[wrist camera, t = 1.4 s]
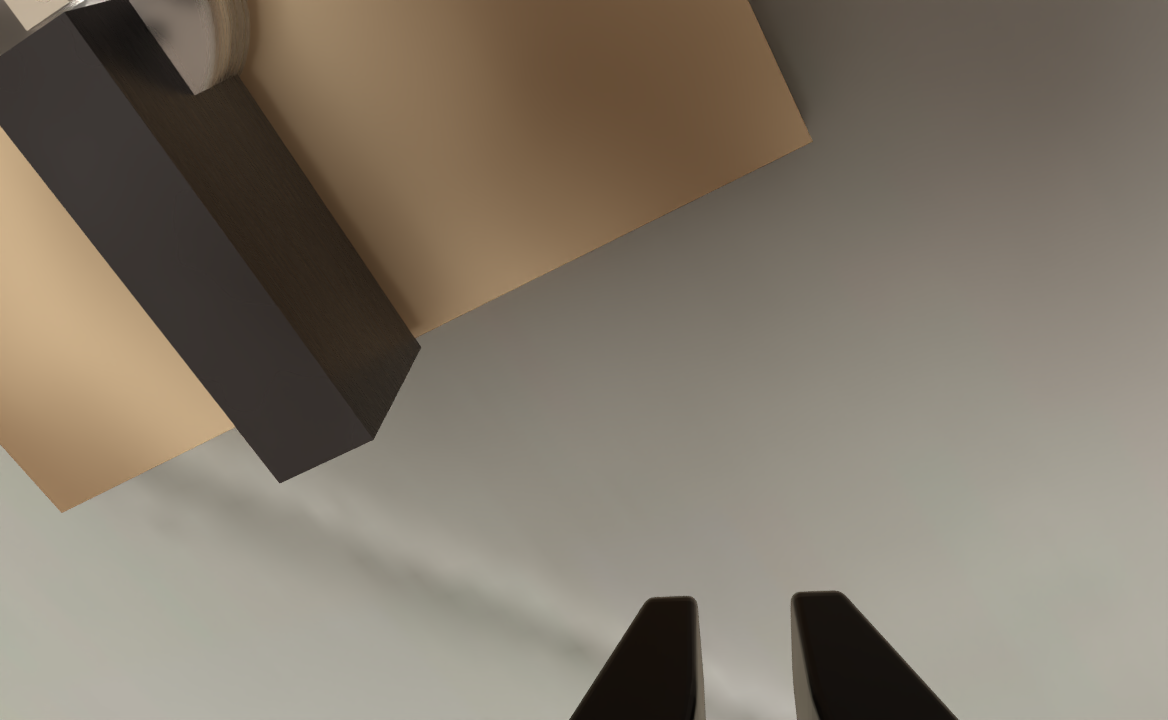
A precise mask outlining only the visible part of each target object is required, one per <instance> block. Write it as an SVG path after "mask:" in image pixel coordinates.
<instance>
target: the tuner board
mask: <svg viewBox="0 0 1168 720" xmlns="http://www.w3.org/2000/svg"><path fill="white" fill-rule="evenodd" d="M247 4H248V9H249V16H250V43H249V49H248V54H247V59H246V62H245V65H244V68H243V71H242V73H241V75H240V79H241V80H242V82H243V83H244V85H245V86H246V88H247V89H248V91H249V92H250V94H251V95H252V97H253V98H254V100H255V101H256V103H257V104H258V106H259V107H260V109H261V110H262V112H263V113H264V114H265V116H266V117H267V119H268V120H269V122H270V123H271V125H272V126H273V128H274V129H275V131H276V132H277V134H278V135H279V137H280V138H281V140H282V141H283V143H284V144H285V146H286V147H287V149H288V150H289V152H290V153H291V155H292V156H293V158H294V159H295V161H296V162H297V164H298V165H299V167H300V168H301V169H302V171H303V172H304V174H305V175H306V177H307V178H308V180H309V181H310V183H311V184H312V186H313V187H314V189H315V190H316V192H317V193H318V195H319V196H320V198H321V199H322V201H323V202H324V204H325V205H326V207H327V208H328V210H329V211H330V213H331V214H332V216H333V217H334V219H335V220H336V222H337V223H338V225H339V226H340V227H341V229H342V230H343V232H344V233H345V235H346V236H347V238H348V239H349V241H350V242H351V244H352V245H353V247H354V248H355V250H356V251H357V253H358V254H359V256H360V257H361V259H362V260H363V262H364V263H365V265H366V266H367V268H368V269H369V271H370V272H371V274H372V275H373V277H374V278H375V280H376V281H377V282H378V284H379V285H380V287H381V288H382V290H383V291H384V293H385V294H386V296H387V297H388V299H389V300H390V302H391V303H392V305H393V306H394V308H395V309H396V311H397V312H398V314H399V315H400V317H401V318H402V320H403V321H404V323H405V324H406V326H407V327H408V329H409V330H410V332H411V333H412V335H413V336H414V337H415V338H416V337H419V336H421V335H423V334H425V333H427V332H429V331H431V330H433V329H435V328H437V327H439V326H441V325H443V324H445V323H447V322H449V321H451V320H453V319H455V318H457V317H459V316H461V315H463V314H465V313H467V312H469V311H471V310H473V309H475V308H477V307H479V306H481V305H483V304H485V303H487V302H489V301H491V300H493V299H495V298H497V297H499V296H501V295H503V294H505V293H508V292H510V291H512V290H514V289H516V288H518V287H520V286H522V285H524V284H526V283H528V282H530V281H532V280H534V279H536V278H538V277H540V276H542V275H544V274H546V273H548V272H550V271H552V270H554V269H556V268H558V267H560V266H562V265H564V264H566V263H568V262H570V261H572V260H574V259H576V258H578V257H580V256H582V255H584V254H586V253H588V252H590V251H592V250H594V249H596V248H599V247H601V246H603V245H605V244H607V243H609V242H611V241H613V240H615V239H617V238H619V237H621V236H623V235H625V234H627V233H629V232H631V231H633V230H635V229H637V228H639V227H641V226H643V225H645V224H647V223H649V222H651V221H653V220H655V219H657V218H659V217H661V216H663V215H665V214H667V213H669V212H671V211H673V210H675V209H677V208H679V207H681V206H683V205H685V204H688V203H690V202H692V201H694V200H696V199H698V198H700V197H702V196H704V195H706V194H708V193H710V192H712V191H714V190H716V189H718V188H720V187H722V186H724V185H726V184H728V183H730V182H732V181H734V180H736V179H738V178H740V177H742V176H744V175H746V174H748V173H750V172H752V171H754V170H756V169H758V168H760V167H762V166H764V165H766V164H768V163H770V162H772V161H774V160H776V159H779V158H781V157H783V156H785V155H787V154H789V153H791V152H793V151H795V150H797V149H799V148H801V147H803V146H805V145H807V144H809V143H811V142H813V141H812V139H811V136H810V134H809V132H808V130H807V128H806V126H805V123H804V121H803V119H802V117H801V115H800V112H799V110H798V108H797V106H796V104H795V102H794V99H793V97H792V95H791V93H790V91H789V88H788V86H787V84H786V82H785V80H784V78H783V75H782V73H781V71H780V69H779V67H778V65H777V62H776V60H775V58H774V56H773V54H772V51H771V49H770V47H769V45H768V43H767V41H766V38H765V36H764V34H763V32H762V30H761V27H760V25H759V23H758V21H757V19H756V17H755V14H754V12H753V10H752V8H751V6H750V3H749V1H748V0H247ZM234 427H235V426H234V424H233V423H232V422H231V420H230V419H229V418H228V417H227V415H226V414H225V413H224V412H223V410H222V409H221V408H220V406H219V405H218V404H217V403H216V401H215V400H214V399H213V397H212V396H211V395H210V394H209V392H208V391H207V390H206V389H205V387H204V386H203V385H202V383H201V382H200V381H199V380H198V378H197V377H196V376H195V374H194V373H193V372H192V371H191V369H190V368H189V367H188V365H187V364H186V363H185V362H184V360H183V359H182V358H181V357H180V355H179V354H178V353H177V351H176V350H175V349H174V348H173V346H172V345H171V344H170V342H169V341H168V340H167V339H166V337H165V336H164V335H163V334H162V332H161V331H160V330H159V328H158V327H157V326H156V325H155V323H154V322H153V321H152V319H151V318H150V317H149V316H148V314H147V313H146V312H145V311H144V309H143V308H142V307H141V305H140V304H139V303H138V302H137V300H136V299H135V298H134V296H133V295H132V294H131V293H130V291H129V290H128V289H127V287H126V286H125V285H124V284H123V282H122V281H121V280H120V279H119V277H118V276H117V275H116V273H115V272H114V271H113V270H112V268H111V267H110V266H109V264H108V263H107V262H106V261H105V259H104V258H103V257H102V256H101V254H100V253H99V252H98V250H97V249H96V248H95V247H94V245H93V244H92V243H91V241H90V240H89V239H88V238H87V236H86V235H85V234H84V232H83V231H82V230H81V229H80V227H79V226H78V225H77V224H76V222H75V221H74V220H73V218H72V217H71V216H70V215H69V213H68V212H67V211H66V209H65V208H64V207H63V206H62V204H61V203H60V202H59V201H58V199H57V198H56V197H55V195H54V194H53V193H52V192H51V190H50V189H49V188H48V186H47V185H46V184H45V183H44V181H43V180H42V179H41V177H40V176H39V175H38V174H37V172H36V171H35V170H34V169H33V167H32V166H31V165H30V163H29V162H28V161H27V160H26V158H25V157H24V156H23V154H22V153H21V152H20V151H19V149H18V148H17V147H16V146H15V144H14V143H13V142H12V140H11V139H10V138H9V137H8V135H7V134H6V133H5V131H4V130H3V129H2V128H1V126H0V445H1V446H2V447H3V448H4V449H5V450H6V451H7V452H8V453H9V455H10V456H11V457H12V458H13V459H14V460H15V461H16V462H17V464H18V465H19V466H20V467H21V468H22V469H23V470H24V471H25V472H26V474H27V475H28V476H29V477H30V478H31V479H32V480H33V481H34V482H35V484H36V485H37V486H38V487H39V488H40V489H41V490H42V491H43V493H44V494H45V495H46V496H47V497H48V498H49V499H50V500H51V501H52V503H53V504H54V505H55V506H56V507H57V508H58V509H59V510H60V511H61V513H63V512H65V511H67V510H69V509H71V508H73V507H75V506H77V505H79V504H81V503H83V502H85V501H87V500H89V499H91V498H93V497H95V496H97V495H99V494H101V493H103V492H105V491H107V490H109V489H111V488H113V487H115V486H117V485H119V484H121V483H123V482H125V481H127V480H129V479H131V478H133V477H135V476H137V475H139V474H141V473H143V472H145V471H148V470H150V469H152V468H154V467H156V466H158V465H160V464H162V463H164V462H166V461H168V460H170V459H172V458H174V457H176V456H178V455H180V454H182V453H184V452H186V451H188V450H190V449H192V448H194V447H196V446H198V445H200V444H202V443H204V442H206V441H208V440H210V439H212V438H214V437H216V436H218V435H220V434H222V433H224V432H226V431H228V430H230V429H232V428H234Z"/></svg>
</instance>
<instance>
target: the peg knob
mask: <svg viewBox="0 0 1168 720" xmlns="http://www.w3.org/2000/svg"><path fill="white" fill-rule="evenodd" d="M249 43H250V16H249V9H248V4H247V0H0V126H1V128H2V129H3V130H4V131H5V133H6V134H7V135H8V137H9V138H10V139H11V140H12V142H13V143H14V144H15V146H16V147H17V148H18V149H19V151H20V152H21V153H22V154H23V156H24V157H25V158H26V160H27V161H28V162H29V163H30V165H31V166H32V167H33V169H34V170H35V171H36V172H37V174H38V175H39V176H40V177H41V179H42V180H43V181H44V183H45V184H46V185H47V186H48V188H49V189H50V190H51V192H52V193H53V194H54V195H55V197H56V198H57V199H58V201H59V202H60V203H61V204H62V206H63V207H64V208H65V209H66V211H67V212H68V213H69V215H70V216H71V217H72V218H73V220H74V221H75V222H76V224H77V225H78V226H79V227H80V229H81V230H82V231H83V232H84V234H85V235H86V236H87V238H88V239H89V240H90V241H91V243H92V244H93V245H94V247H95V248H96V249H97V250H98V252H99V253H100V254H101V256H102V257H103V258H104V259H105V261H106V262H107V263H108V264H109V266H110V267H111V268H112V270H113V271H114V272H115V273H116V275H117V276H118V277H119V279H120V280H121V281H122V282H123V284H124V285H125V286H126V287H127V289H128V290H129V291H130V293H131V294H132V295H133V296H134V298H135V299H136V300H137V302H138V303H139V304H140V305H141V307H142V308H143V309H144V311H145V312H146V313H147V314H148V316H149V317H150V318H151V319H152V321H153V322H154V323H155V325H156V326H157V327H158V328H159V330H160V331H161V332H162V334H163V335H164V336H165V337H166V339H167V340H168V341H169V342H170V344H171V345H172V346H173V348H174V349H175V350H176V351H177V353H178V354H179V355H180V357H181V358H182V359H183V360H184V362H185V363H186V364H187V365H188V367H189V368H190V369H191V371H192V372H193V373H194V374H195V376H196V377H197V378H198V380H199V381H200V382H201V383H202V385H203V386H204V387H205V389H206V390H207V391H208V392H209V394H210V395H211V396H212V397H213V399H214V400H215V401H216V403H217V404H218V405H219V406H220V408H221V409H222V410H223V412H224V413H225V414H226V415H227V417H228V418H229V419H230V420H231V422H232V423H233V424H234V426H235V427H236V428H237V429H238V431H239V432H240V433H241V435H242V436H243V437H244V438H245V440H246V441H247V442H248V444H249V445H250V446H251V447H252V449H253V450H254V451H255V452H256V454H257V455H258V456H259V458H260V459H261V460H262V461H263V463H264V464H265V465H266V467H267V468H268V469H269V470H270V472H271V473H272V474H273V475H274V477H275V478H276V479H277V481H278V482H279V483H282V482H284V481H286V480H288V479H290V478H292V477H295V476H297V475H299V474H301V473H303V472H305V471H307V470H310V469H312V468H314V467H316V466H318V465H320V464H322V463H324V462H327V461H329V460H331V459H333V458H335V457H337V456H339V455H342V454H344V453H346V452H348V451H350V450H352V449H354V448H357V447H359V446H361V445H363V444H365V443H367V442H369V441H372V440H374V438H375V436H376V434H377V432H378V430H379V428H380V426H381V424H382V422H383V420H384V418H385V416H386V414H387V413H388V411H389V409H390V407H391V405H392V403H393V401H394V399H395V397H396V395H397V393H398V391H399V389H400V387H401V385H402V384H403V382H404V380H405V378H406V376H407V374H408V372H409V370H410V368H411V366H412V364H413V362H414V360H415V358H416V356H417V355H418V353H419V351H420V349H421V346H420V345H419V343H418V342H417V340H416V339H415V337H414V336H413V335H412V333H411V332H410V330H409V329H408V327H407V326H406V324H405V323H404V321H403V320H402V318H401V317H400V315H399V314H398V312H397V311H396V309H395V308H394V306H393V305H392V303H391V302H390V300H389V299H388V297H387V296H386V294H385V293H384V291H383V290H382V288H381V287H380V285H379V284H378V282H377V281H376V280H375V278H374V277H373V275H372V274H371V272H370V271H369V269H368V268H367V266H366V265H365V263H364V262H363V260H362V259H361V257H360V256H359V254H358V253H357V251H356V250H355V248H354V247H353V245H352V244H351V242H350V241H349V239H348V238H347V236H346V235H345V233H344V232H343V230H342V229H341V227H340V226H339V225H338V223H337V222H336V220H335V219H334V217H333V216H332V214H331V213H330V211H329V210H328V208H327V207H326V205H325V204H324V202H323V201H322V199H321V198H320V196H319V195H318V193H317V192H316V190H315V189H314V187H313V186H312V184H311V183H310V181H309V180H308V178H307V177H306V175H305V174H304V172H303V171H302V169H301V168H300V167H299V165H298V164H297V162H296V161H295V159H294V158H293V156H292V155H291V153H290V152H289V150H288V149H287V147H286V146H285V144H284V143H283V141H282V140H281V138H280V137H279V135H278V134H277V132H276V131H275V129H274V128H273V126H272V125H271V123H270V122H269V120H268V119H267V117H266V116H265V114H264V113H263V112H262V110H261V109H260V107H259V106H258V104H257V103H256V101H255V100H254V98H253V97H252V95H251V94H250V92H249V91H248V89H247V88H246V86H245V85H244V83H243V82H242V80H241V79H240V75H241V73H242V71H243V68H244V65H245V62H246V59H247V54H248V49H249Z"/></svg>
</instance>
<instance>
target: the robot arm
mask: <svg viewBox="0 0 1168 720" xmlns="http://www.w3.org/2000/svg"><path fill="white" fill-rule="evenodd" d="M791 639H792V670H793V685H794V696H795V705H796V714H797V720H958V718H957V717H956V716H955V715H954V714H953V713H952V712H951V711H950V710H949V709H948V708H947V706H946V705H945V704H944V703H943V702H942V701H941V700H940V699H939V698H938V697H937V695H936V694H935V693H934V692H933V691H932V690H931V689H930V688H929V687H928V686H927V684H926V683H925V682H924V681H923V680H922V679H921V678H920V677H919V676H918V675H917V673H916V672H915V671H914V670H913V669H912V668H911V667H910V666H909V665H908V664H907V663H906V661H905V660H904V659H903V658H902V657H901V656H900V655H899V654H898V653H897V652H896V650H895V649H894V648H893V647H892V646H891V645H890V644H889V643H888V642H887V641H886V639H885V638H884V637H883V636H882V635H881V634H880V633H879V632H878V631H877V630H876V629H875V627H874V626H873V625H872V624H871V623H870V622H869V621H868V620H867V619H866V618H865V616H864V615H863V614H862V613H861V612H860V611H859V610H858V609H857V608H856V607H855V605H854V604H853V603H852V602H851V601H850V600H849V599H848V598H847V597H846V596H845V595H844V594H843V593H841V592H839V591H808V592H797V593H795V594H794V595H793V596H792V598H791ZM569 720H706V715H705V694H704V678H703V664H702V652H701V640H700V628H699V615H698V606H697V602H696V600H695V599H694V598H693V597H691V596H672V597H653V598H650V599H648V600H647V601H646V602H645V603H644V605H643V606H642V608H641V609H640V611H639V612H638V614H637V616H636V617H635V619H634V620H633V622H632V623H631V625H630V626H629V628H628V629H627V631H626V633H625V634H624V636H623V637H622V639H621V640H620V642H619V643H618V645H617V647H616V648H615V650H614V651H613V653H612V654H611V656H610V657H609V659H608V661H607V662H606V664H605V665H604V667H603V668H602V670H601V671H600V673H599V674H598V676H597V678H596V679H595V681H594V682H593V684H592V685H591V687H590V688H589V690H588V692H587V693H586V695H585V696H584V698H583V699H582V701H581V702H580V704H579V706H578V707H577V709H576V710H575V712H574V713H573V715H572V716H571V718H570V719H569Z"/></svg>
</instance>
